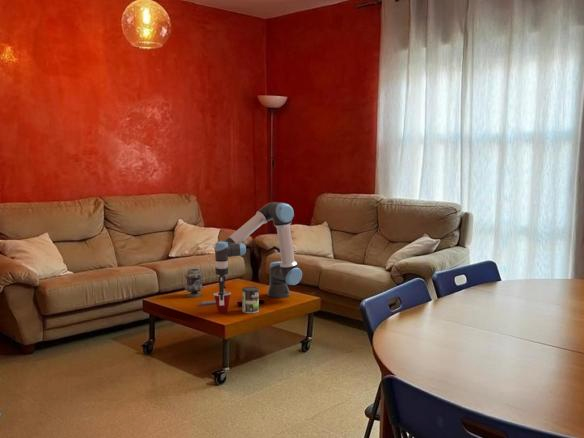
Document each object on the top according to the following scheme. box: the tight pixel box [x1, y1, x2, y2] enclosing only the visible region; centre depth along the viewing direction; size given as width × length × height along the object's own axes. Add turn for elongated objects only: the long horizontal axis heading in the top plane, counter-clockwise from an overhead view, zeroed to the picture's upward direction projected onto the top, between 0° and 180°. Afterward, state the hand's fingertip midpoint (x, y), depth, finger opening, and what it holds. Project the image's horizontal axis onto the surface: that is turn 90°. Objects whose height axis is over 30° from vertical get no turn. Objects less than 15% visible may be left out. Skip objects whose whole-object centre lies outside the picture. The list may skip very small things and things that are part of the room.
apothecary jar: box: [184, 268, 204, 298], centre depth 371 cm, size 12×12×18 cm
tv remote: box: [198, 300, 216, 307], centre depth 352 cm, size 15×4×2 cm, turn 114°
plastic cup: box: [213, 291, 232, 314], centre depth 333 cm, size 11×11×12 cm
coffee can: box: [241, 286, 260, 314], centre depth 335 cm, size 10×10×14 cm
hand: (222, 302), depth 333 cm, fingers open, 12 cm apart
